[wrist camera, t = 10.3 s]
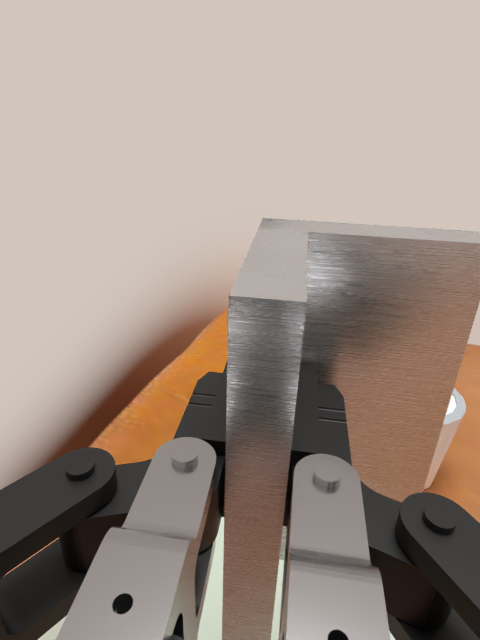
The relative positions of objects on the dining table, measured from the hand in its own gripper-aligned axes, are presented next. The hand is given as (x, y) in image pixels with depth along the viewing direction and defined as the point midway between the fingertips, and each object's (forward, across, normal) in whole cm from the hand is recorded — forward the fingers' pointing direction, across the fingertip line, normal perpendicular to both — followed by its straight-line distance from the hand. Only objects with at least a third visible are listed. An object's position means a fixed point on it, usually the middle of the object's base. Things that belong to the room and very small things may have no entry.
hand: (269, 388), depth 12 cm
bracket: (-1, -2, +7) cm, 8 cm away
